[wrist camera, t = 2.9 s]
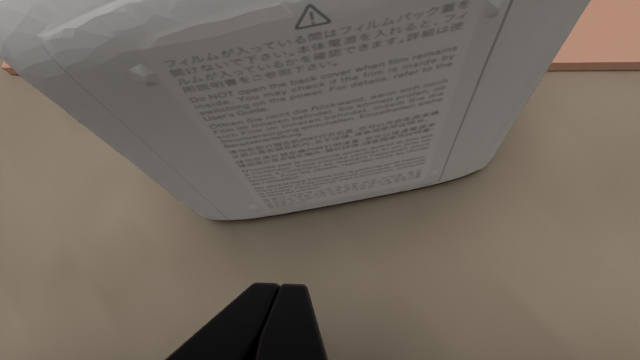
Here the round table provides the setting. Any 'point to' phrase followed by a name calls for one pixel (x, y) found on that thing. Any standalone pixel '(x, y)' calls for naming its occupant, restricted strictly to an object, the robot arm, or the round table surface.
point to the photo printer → (289, 89)
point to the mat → (592, 39)
